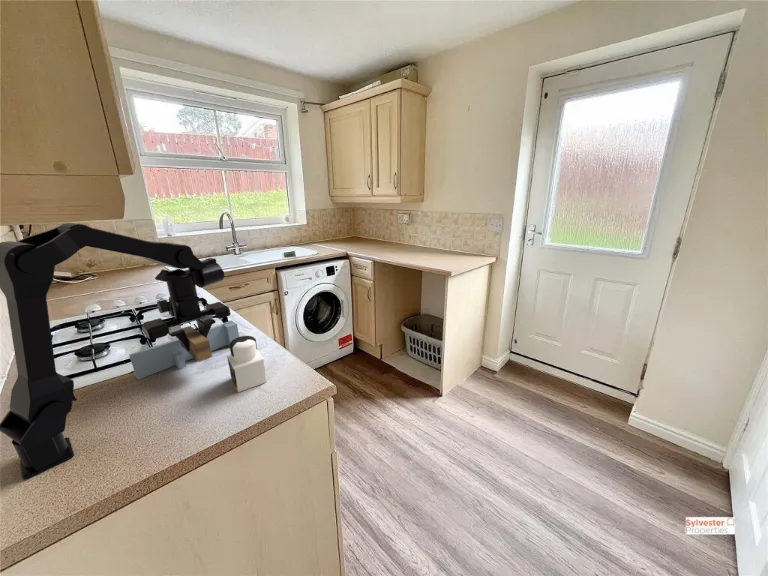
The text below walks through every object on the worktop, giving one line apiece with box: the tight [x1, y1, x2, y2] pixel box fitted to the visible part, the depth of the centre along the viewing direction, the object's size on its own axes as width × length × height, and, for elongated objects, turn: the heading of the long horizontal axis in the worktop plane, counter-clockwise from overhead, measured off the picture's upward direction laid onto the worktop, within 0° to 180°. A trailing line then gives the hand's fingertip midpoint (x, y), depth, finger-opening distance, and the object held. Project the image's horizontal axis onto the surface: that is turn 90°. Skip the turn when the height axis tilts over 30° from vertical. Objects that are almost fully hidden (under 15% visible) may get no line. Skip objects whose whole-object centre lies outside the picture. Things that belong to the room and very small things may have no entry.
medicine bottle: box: [227, 335, 268, 393], centre depth 78 cm, size 7×7×12 cm
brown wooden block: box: [180, 325, 213, 363], centre depth 82 cm, size 12×3×5 cm, turn 50°
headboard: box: [129, 320, 240, 380], centre depth 88 cm, size 4×26×7 cm, turn 140°
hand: (195, 348), depth 82 cm, fingers closed on brown wooden block, 3 cm apart
